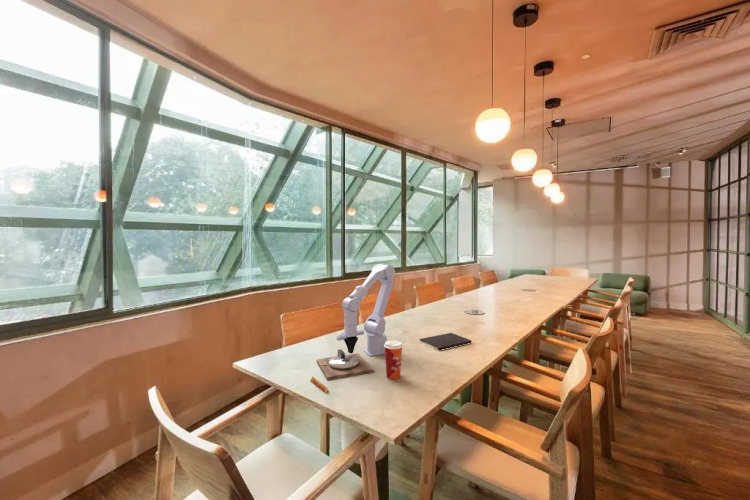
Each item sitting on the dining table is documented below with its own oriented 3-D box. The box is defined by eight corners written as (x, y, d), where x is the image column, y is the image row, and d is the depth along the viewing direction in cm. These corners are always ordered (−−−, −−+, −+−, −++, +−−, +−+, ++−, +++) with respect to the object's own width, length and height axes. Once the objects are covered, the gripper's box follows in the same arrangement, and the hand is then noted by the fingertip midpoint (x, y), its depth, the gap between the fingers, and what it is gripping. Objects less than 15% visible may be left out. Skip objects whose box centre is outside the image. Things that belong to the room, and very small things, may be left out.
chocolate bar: (315, 380, 127) (315, 375, 127) (330, 392, 118) (330, 386, 118) (309, 382, 126) (309, 377, 126) (323, 394, 116) (323, 388, 116)
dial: (353, 355, 149) (353, 347, 149) (362, 366, 136) (362, 357, 136) (325, 359, 144) (325, 351, 144) (333, 371, 131) (333, 362, 131)
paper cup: (397, 382, 125) (397, 347, 124) (380, 377, 129) (380, 343, 128) (406, 375, 131) (406, 341, 131) (389, 370, 136) (390, 338, 135)
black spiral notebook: (419, 343, 173) (419, 338, 173) (451, 336, 184) (451, 332, 184) (438, 352, 159) (438, 347, 159) (471, 344, 170) (471, 340, 170)
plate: (357, 355, 153) (357, 352, 153) (373, 372, 134) (373, 368, 134) (316, 361, 145) (316, 358, 145) (327, 380, 127) (327, 376, 127)
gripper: (357, 319, 155) (357, 346, 155) (332, 324, 145) (332, 354, 146) (366, 322, 150) (366, 350, 150) (341, 328, 140) (342, 358, 140)
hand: (350, 352), depth 148 cm, fingers closed
